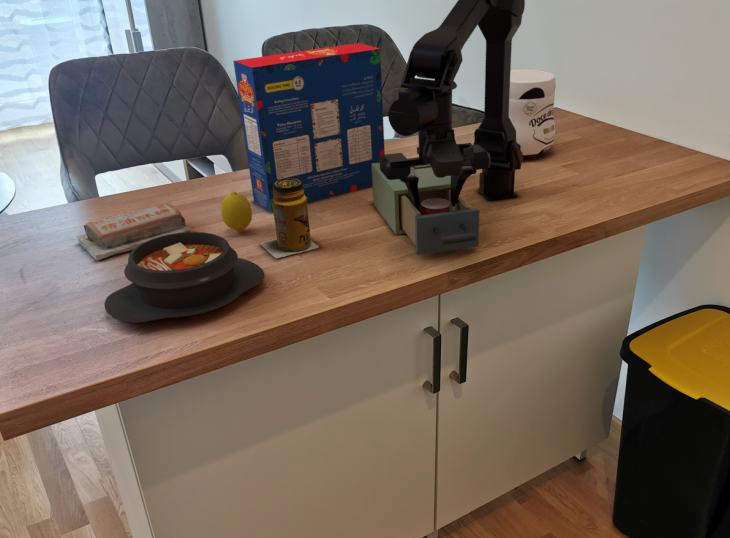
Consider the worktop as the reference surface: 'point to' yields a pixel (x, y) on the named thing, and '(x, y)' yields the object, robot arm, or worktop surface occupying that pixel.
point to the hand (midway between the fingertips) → (435, 208)
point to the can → (435, 206)
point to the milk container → (532, 110)
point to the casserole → (181, 278)
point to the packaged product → (131, 230)
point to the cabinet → (400, 192)
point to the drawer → (439, 224)
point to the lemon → (236, 211)
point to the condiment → (290, 219)
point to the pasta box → (312, 119)
